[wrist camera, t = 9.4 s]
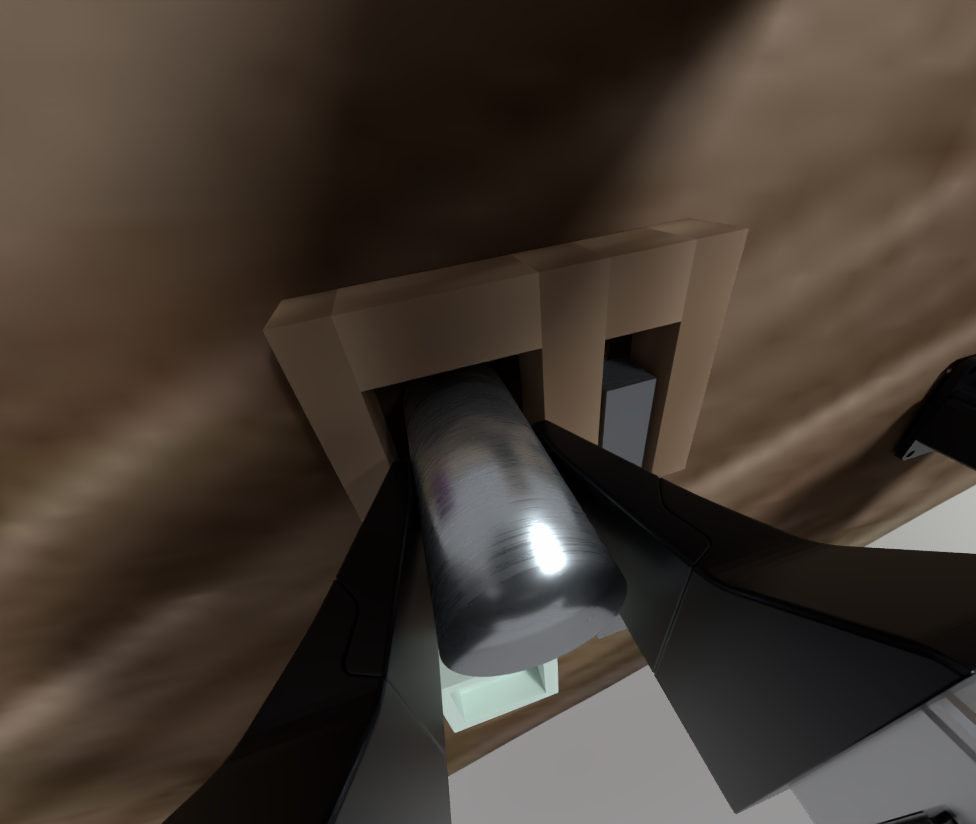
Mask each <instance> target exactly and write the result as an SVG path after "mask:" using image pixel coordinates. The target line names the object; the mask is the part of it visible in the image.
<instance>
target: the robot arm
mask: <svg viewBox="0 0 976 824" xmlns="http://www.w3.org/2000/svg"><path fill="white" fill-rule="evenodd" d="M531 428H532V430H533V431H534V433H535V434H536V436H537V438H538V439H539V441H540V442H541V444H542V446H543V447H544V449H545V450H546V452H547V454H548V455H549V457H550V458H551V460H552V462H553V463H554V465H555V466H556V468H557V470H558V471H559V473H560V474H561V476H562V478H563V479H564V481H565V482H566V484H567V486H568V487H569V489H570V490H571V492H572V494H573V495H574V497H575V498H576V500H577V502H578V503H579V505H580V506H581V508H582V510H583V511H584V513H585V514H586V516H587V518H588V519H589V521H590V522H591V524H592V526H593V527H594V529H595V531H596V532H597V534H598V535H599V537H600V539H601V540H602V542H603V543H604V545H605V547H606V548H607V550H608V551H609V553H610V555H611V556H612V558H613V559H614V561H615V563H616V564H617V566H618V567H619V569H620V571H621V572H622V574H623V575H624V577H625V579H626V582H627V595H626V598H625V601H624V603H623V605H622V607H621V608H620V610H619V611H618V613H619V615H620V616H621V618H622V620H623V622H624V623H625V625H626V627H627V628H628V630H629V632H630V634H631V635H632V637H633V639H634V641H635V642H636V644H637V646H638V647H639V649H640V651H641V653H642V654H643V656H644V658H645V660H646V661H647V663H648V665H649V666H650V668H651V670H652V672H654V673H655V674H654V675H655V677H656V679H657V681H658V682H659V684H660V686H661V688H662V689H663V691H664V693H665V694H666V696H667V698H668V700H669V701H670V703H671V705H672V707H673V708H674V710H675V712H676V713H677V715H678V717H679V719H680V720H681V722H682V724H683V725H684V727H685V729H686V731H687V733H688V734H689V736H690V738H691V739H692V741H693V743H694V745H695V746H696V748H697V750H698V751H699V753H700V755H701V757H702V758H703V760H704V762H705V764H706V765H707V767H708V769H709V771H710V772H711V774H712V776H713V777H714V779H715V781H716V783H717V784H718V786H719V788H720V790H721V791H722V793H723V795H724V796H725V798H726V800H727V802H728V803H729V805H730V806H731V808H732V810H733V811H734V813H735V814H738V813H740V812H742V811H744V810H746V809H748V808H750V807H752V806H754V805H756V804H759V803H760V802H763V801H765V800H767V799H769V798H771V797H773V796H775V795H777V794H779V793H782V792H784V791H786V790H788V789H790V788H791V790H792V791H793V793H794V794H795V796H796V797H797V799H798V800H799V802H800V803H801V805H802V806H803V808H804V809H805V810H806V812H807V813H808V815H809V817H810V818H811V819H812V821H813V822H814V824H976V554H969V553H953V552H936V551H935V552H934V551H919V550H902V549H885V548H868V547H851V546H838V545H830V544H823V543H819V542H814V541H810V540H807V539H804V538H800V537H797V536H795V535H792V534H789V533H787V532H784V531H782V530H779V529H777V528H775V527H772V526H770V525H767V524H765V523H762V522H760V521H758V520H755V519H753V518H750V517H748V516H745V515H743V514H741V513H738V512H736V511H733V510H731V509H728V508H726V507H724V506H721V505H719V504H717V503H714V502H712V501H710V500H707V499H705V498H703V497H700V496H698V495H696V494H694V493H692V492H690V491H688V490H686V489H684V488H681V487H679V486H677V485H675V484H673V483H671V482H669V481H667V480H665V479H663V478H659V477H658V476H657V475H655V474H653V473H651V472H649V471H647V470H645V469H643V468H641V467H639V466H637V465H635V464H633V463H631V462H629V461H627V460H626V459H624V458H622V457H620V456H618V455H616V454H614V453H612V452H610V451H608V450H606V449H604V448H602V447H600V446H598V445H596V444H594V443H592V442H590V441H588V440H586V439H584V438H582V437H580V436H578V435H576V434H574V433H572V432H570V431H568V430H566V429H564V428H562V427H560V426H558V425H556V424H554V423H552V422H550V421H548V420H542V421H538V422H534V423H533V424H532V425H531ZM934 450H935V451H937V452H939V453H941V454H943V455H945V456H947V457H949V458H951V459H953V460H955V461H957V462H959V463H961V464H963V465H965V466H967V467H969V468H971V469H973V470H975V471H976V356H972V357H969V358H967V359H965V360H964V361H962V362H961V363H960V364H959V365H958V366H957V367H956V368H955V369H954V371H953V372H952V374H951V375H950V376H949V378H948V379H947V381H946V382H945V383H944V385H943V386H942V388H941V389H940V390H939V392H938V393H937V395H936V396H935V397H934V399H933V400H932V402H931V403H930V404H929V406H928V407H927V409H926V410H925V411H924V413H923V414H922V416H921V417H920V418H919V420H918V421H917V423H916V424H915V425H914V427H913V428H912V430H911V431H910V432H909V434H908V435H907V437H906V438H905V439H904V441H903V442H902V444H901V445H900V446H899V448H898V449H897V451H896V452H895V454H894V456H896V457H898V458H899V459H901V460H903V461H905V460H908V459H911V458H914V457H917V456H920V455H923V454H926V453H929V452H931V451H934ZM336 579H337V580H334V581H333V583H332V585H331V588H330V590H329V592H328V594H327V596H326V598H325V600H324V601H323V603H322V605H321V607H320V609H319V611H318V613H317V615H316V617H315V619H314V621H313V622H312V624H311V626H310V627H309V629H308V631H307V633H306V634H305V636H304V638H303V639H302V641H301V643H300V645H299V646H298V648H297V650H296V651H295V653H294V655H293V656H292V658H291V660H290V661H289V663H288V664H287V666H286V668H285V669H284V671H283V673H282V674H281V676H280V678H279V679H278V681H277V682H276V684H275V686H274V687H273V689H272V691H271V692H270V694H269V695H268V697H267V699H266V700H265V702H264V704H263V705H262V707H261V709H260V710H259V712H258V713H257V715H256V717H255V718H254V720H253V722H252V723H251V725H250V726H249V728H248V729H247V731H246V733H245V734H244V736H243V737H242V739H241V740H240V741H239V743H238V744H237V746H236V747H235V748H234V750H233V751H232V752H231V754H230V755H229V756H228V757H227V759H226V760H225V761H224V762H223V764H222V765H221V766H220V767H219V768H218V769H217V771H216V772H215V773H214V774H213V775H212V776H211V777H210V778H209V779H208V780H207V781H206V782H205V783H204V784H203V785H202V786H201V787H200V788H199V789H198V790H197V791H196V792H195V793H194V794H192V795H191V796H190V797H189V798H188V799H187V800H186V801H185V802H184V803H183V804H182V805H181V806H180V807H179V808H178V809H176V810H175V811H174V812H173V813H172V814H171V815H170V816H169V817H168V818H167V819H166V820H165V821H164V822H163V823H162V824H451V813H450V799H449V785H448V772H447V759H446V757H445V756H446V746H445V733H444V719H443V706H442V692H441V679H440V666H439V652H438V643H437V636H436V629H435V622H434V615H433V609H432V602H431V595H430V588H429V581H428V574H427V567H426V561H425V554H424V547H423V540H422V533H421V526H420V520H419V513H418V506H417V498H416V491H415V485H414V478H413V471H412V464H411V461H410V459H409V458H403V459H399V460H396V461H393V462H392V464H391V466H390V468H389V470H388V472H387V474H386V476H385V478H384V480H383V482H382V484H381V486H380V488H379V490H378V492H377V494H376V496H375V498H374V500H373V502H372V504H371V506H370V509H369V511H368V513H367V515H366V517H365V519H364V521H363V523H362V525H361V527H360V529H359V531H358V533H357V535H356V537H355V539H354V541H353V543H352V545H351V547H350V549H349V551H348V553H347V555H346V557H345V559H344V561H343V563H342V565H341V568H340V570H339V572H338V574H337V576H336Z"/></svg>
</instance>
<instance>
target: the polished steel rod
mask: <svg viewBox="0 0 976 824" xmlns="http://www.w3.org/2000/svg"><path fill="white" fill-rule="evenodd" d="M403 410H404V417H405V424H406V431H407V437H408V444H409V451H410V458H411V464H412V471H413V478H414V485H415V491H416V498H417V506H418V513H419V520H420V526H421V533H422V540H423V547H424V554H425V561H426V567H427V574H428V581H429V588H430V595H431V602H432V609H433V615H434V622H435V629H436V636H437V643H438V650H439V655H440V658H441V661H442V662H443V664H444V665H445V666H446V667H447V668H448V669H450V670H452V671H454V672H455V673H458V674H462V675H466V676H473V677H492V676H501V675H507V674H512V673H516V672H520V671H524V670H527V669H531V668H534V667H537V666H539V665H542V664H545V663H547V662H550V661H552V660H554V659H556V658H558V657H561V656H563V655H565V654H566V653H568V652H570V651H572V650H574V649H575V648H577V647H579V646H580V645H582V644H583V643H585V642H586V641H588V640H589V639H591V638H592V637H593V636H595V635H596V634H597V633H598V632H600V631H601V630H602V629H603V628H604V627H605V626H606V625H607V624H608V623H609V622H610V621H611V620H612V619H613V618H614V617H615V615H616V614H617V613H618V611H619V610H620V608H621V607H622V605H623V603H624V601H625V598H626V595H627V582H626V579H625V577H624V575H623V574H622V572H621V571H620V569H619V567H618V566H617V564H616V563H615V561H614V559H613V558H612V556H611V555H610V553H609V551H608V550H607V548H606V547H605V545H604V543H603V542H602V540H601V539H600V537H599V535H598V534H597V532H596V531H595V529H594V527H593V526H592V524H591V522H590V521H589V519H588V518H587V516H586V514H585V513H584V511H583V510H582V508H581V506H580V505H579V503H578V502H577V500H576V498H575V497H574V495H573V494H572V492H571V490H570V489H569V487H568V486H567V484H566V482H565V481H564V479H563V478H562V476H561V474H560V473H559V471H558V470H557V468H556V466H555V465H554V463H553V462H552V460H551V458H550V457H549V455H548V454H547V452H546V450H545V449H544V447H543V446H542V444H541V442H540V441H539V439H538V438H537V436H536V434H535V433H534V431H533V430H532V428H531V426H530V425H529V423H528V422H527V420H526V418H525V417H524V415H523V414H522V412H521V410H520V409H519V407H518V406H517V404H516V402H515V401H514V399H513V397H512V396H511V394H510V393H509V391H508V389H507V388H506V386H505V385H504V383H503V381H502V380H501V378H500V377H499V375H498V373H497V372H496V371H495V370H494V368H492V367H491V366H490V365H489V364H488V363H486V362H482V363H478V364H474V365H470V366H466V367H462V368H458V369H454V370H449V371H445V372H441V373H437V374H433V375H429V376H425V377H421V378H416V379H412V380H410V381H409V383H408V385H407V387H406V389H405V392H404V396H403Z"/></svg>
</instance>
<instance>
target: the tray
mask: <svg viewBox="0 0 976 824" xmlns="http://www.w3.org/2000/svg"><path fill="white" fill-rule="evenodd" d="M438 652H439V650H438ZM439 666H440V679H441V692H442V706H443V714H444V716H445V718H446V719H447V721H448V723H449V724H450V726H451V728H452V729H453V731H454V732H455V733H456V732H458V731H461V730H464V729H466V728H469V727H471V726H474V725H476V724H479V723H481V722H484V721H487V720H489V719H492V718H494V717H497V716H499V715H502V714H505V713H507V712H510V711H512V710H515V709H517V708H520V707H522V706H525V705H528V704H530V703H533V702H535V701H538V700H540V699H543V698H545V697H548V696H551V695H553V694H556V693H558V664H557V658H556V659H554V660H552V661H550V662H547V663H545V664H542V665H539V666H537V667H534V668H531V669H527V670H524V671H520V672H516V673H512V674H507V675H501V676H492V677H473V676H466V675H462V674H458V673H455V672H454V671H452V670H450V669H448V668H447V667H446V666H445V665H444V664H443V662H442V661H441V658H440V655H439Z"/></svg>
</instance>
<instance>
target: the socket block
mask: <svg viewBox="0 0 976 824" xmlns="http://www.w3.org/2000/svg"><path fill="white" fill-rule="evenodd" d="M748 230H749V228H745V227H739V226H733V225H726V224H720V223H714V222H708V221H702V220H696V219H690V218H689V219H684V220H679V221H674V222H669V223H664V224H659V225H654V226H649V227H644V228H639V229H634V230H629V231H624V232H619V233H614V234H609V235H604V236H599V237H594V238H589V239H584V240H579V241H574V242H569V243H564V244H559V245H554V246H549V247H544V248H539V249H534V250H529V251H524V252H519V253H514V254H509V255H504V256H499V257H494V258H489V259H484V260H479V261H474V262H469V263H464V264H459V265H454V266H449V267H444V268H439V269H434V270H429V271H424V272H419V273H414V274H409V275H404V276H399V277H394V278H389V279H384V280H379V281H374V282H369V283H364V284H359V285H354V286H349V287H344V288H339V289H334V290H329V291H324V292H319V293H314V294H309V295H304V296H299V297H294V298H289V299H284V300H281V302H280V304H279V305H278V307H277V308H276V310H275V311H274V313H273V314H272V316H271V318H270V319H269V321H268V322H267V324H266V325H265V327H264V329H263V330H262V331H263V333H264V335H265V337H266V339H267V341H268V343H269V345H270V347H271V349H272V350H273V352H274V354H275V356H276V358H277V360H278V362H279V364H280V366H281V368H282V370H283V372H284V374H285V376H286V377H287V379H288V381H289V383H290V385H291V387H292V389H293V391H294V393H295V395H296V397H297V399H298V401H299V402H300V404H301V406H302V408H303V410H304V412H305V414H306V416H307V418H308V420H309V422H310V424H311V426H312V427H313V429H314V431H315V433H316V435H317V437H318V439H319V441H320V443H321V445H322V447H323V449H324V451H325V452H326V454H327V456H328V458H329V460H330V462H331V464H332V466H333V468H334V470H335V472H336V474H337V476H338V478H339V479H340V481H341V483H342V485H343V487H344V489H345V491H346V493H347V495H348V497H349V499H350V501H351V503H352V504H353V506H354V508H355V510H356V512H357V514H358V516H359V518H360V520H361V522H362V523H363V521H364V519H365V517H366V515H367V513H368V511H369V509H370V506H371V504H372V502H373V500H374V498H375V496H376V494H377V492H378V490H379V488H380V486H381V484H382V482H383V480H384V478H385V476H386V474H387V472H388V470H389V468H390V466H391V464H392V462H393V461H396V460H399V456H398V453H397V451H396V448H395V445H394V442H393V440H392V437H391V434H390V431H389V429H388V426H387V423H386V420H385V418H384V415H383V412H382V409H381V407H380V404H379V401H378V398H377V396H376V393H375V390H374V389H375V388H379V387H383V386H388V385H392V384H396V383H400V382H404V381H408V380H412V379H416V378H421V377H425V376H429V375H433V374H437V373H441V372H445V371H449V370H454V369H458V368H462V367H466V366H470V365H474V364H478V363H482V362H487V361H491V360H495V359H499V358H503V357H507V356H511V355H515V354H519V366H520V378H521V390H522V402H523V414H524V417H525V418H526V420H527V422H528V423H529V425H530V426H531V425H532V424H533V423H534V422H538V421H542V420H548V421H550V422H552V423H554V424H556V425H558V426H560V427H562V428H564V429H566V430H568V431H570V432H572V433H574V434H576V435H578V436H580V437H582V438H584V439H586V440H588V441H590V442H592V443H594V444H596V445H598V434H599V420H600V405H601V391H602V376H603V362H604V347H605V340H607V339H611V338H615V337H619V336H623V335H627V334H631V333H632V342H631V351H630V359H631V360H632V361H634V362H635V363H636V364H638V365H639V366H640V367H642V368H643V369H644V370H646V371H647V372H648V373H650V374H651V375H653V376H654V377H655V378H656V384H655V390H654V396H653V402H652V407H651V413H650V419H649V425H648V431H647V437H646V443H645V449H644V454H643V460H642V466H641V468H643V469H645V470H647V471H649V472H651V473H653V474H655V475H657V476H658V477H661V476H664V475H667V474H671V473H674V472H677V471H680V470H683V469H685V466H686V462H687V458H688V454H689V451H690V447H691V443H692V439H693V436H694V432H695V428H696V425H697V421H698V417H699V413H700V410H701V406H702V402H703V398H704V395H705V391H706V387H707V384H708V380H709V376H710V372H711V369H712V365H713V361H714V357H715V354H716V350H717V346H718V342H719V339H720V335H721V331H722V328H723V324H724V320H725V316H726V313H727V309H728V305H729V301H730V298H731V294H732V290H733V286H734V283H735V279H736V275H737V272H738V268H739V264H740V260H741V257H742V253H743V249H744V245H745V242H746V238H747V234H748Z"/></svg>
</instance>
